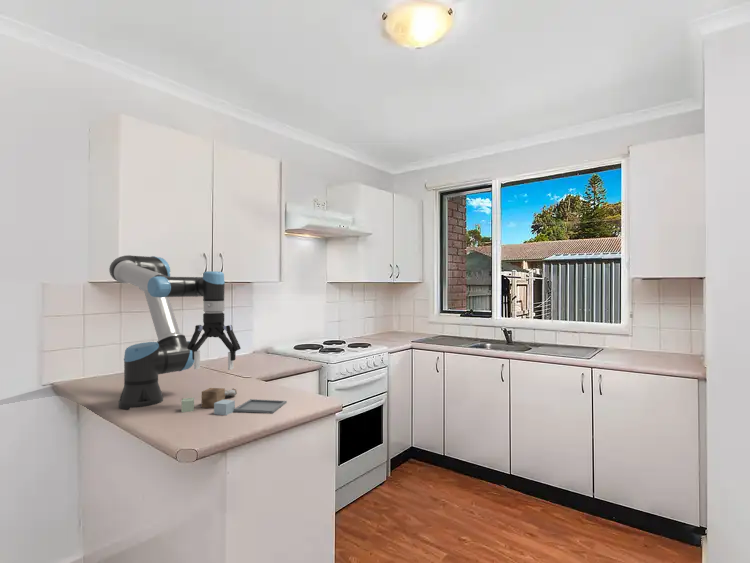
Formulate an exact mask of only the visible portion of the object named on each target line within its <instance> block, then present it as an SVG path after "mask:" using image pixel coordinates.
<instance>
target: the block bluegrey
mask: <svg viewBox="0 0 750 563" xmlns="http://www.w3.org/2000/svg"><path fill="white" fill-rule="evenodd" d="M235 406H236V402H235V400H231V399H225V400H221V401H218V402H216V403H214V408H213V414H214V415H218V416H227V415H230V414H232V413H235V412H234V409H235V408H236V407H235Z"/></svg>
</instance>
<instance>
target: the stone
mask: <svg viewBox="0 0 750 563" xmlns="http://www.w3.org/2000/svg"><path fill="white" fill-rule="evenodd" d="M237 394H238V392H237V388H231V389H227V390H226V389H225V398H226V397H227V396H230V397H232V396H233V397H234V396H236V395H237Z"/></svg>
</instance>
